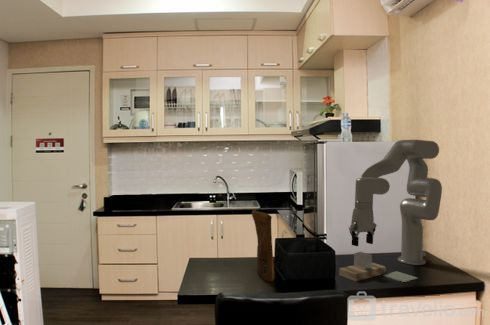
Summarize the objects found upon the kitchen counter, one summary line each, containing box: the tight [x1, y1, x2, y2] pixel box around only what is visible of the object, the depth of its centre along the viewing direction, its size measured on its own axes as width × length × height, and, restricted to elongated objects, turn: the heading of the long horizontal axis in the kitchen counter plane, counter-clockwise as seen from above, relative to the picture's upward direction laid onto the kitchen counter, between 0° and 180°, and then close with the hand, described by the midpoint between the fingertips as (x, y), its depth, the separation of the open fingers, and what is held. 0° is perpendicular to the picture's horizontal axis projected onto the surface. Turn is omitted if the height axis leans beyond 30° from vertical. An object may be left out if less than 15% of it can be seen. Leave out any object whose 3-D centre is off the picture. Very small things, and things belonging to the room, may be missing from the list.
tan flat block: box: [338, 262, 387, 282], centre depth 157 cm, size 20×9×3 cm, turn 123°
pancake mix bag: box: [251, 209, 275, 283], centre depth 154 cm, size 7×19×28 cm, turn 15°
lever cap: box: [353, 251, 373, 270], centre depth 157 cm, size 4×6×6 cm
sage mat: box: [382, 270, 419, 283], centre depth 154 cm, size 10×10×1 cm
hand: (362, 244), depth 157 cm, fingers open, 9 cm apart
